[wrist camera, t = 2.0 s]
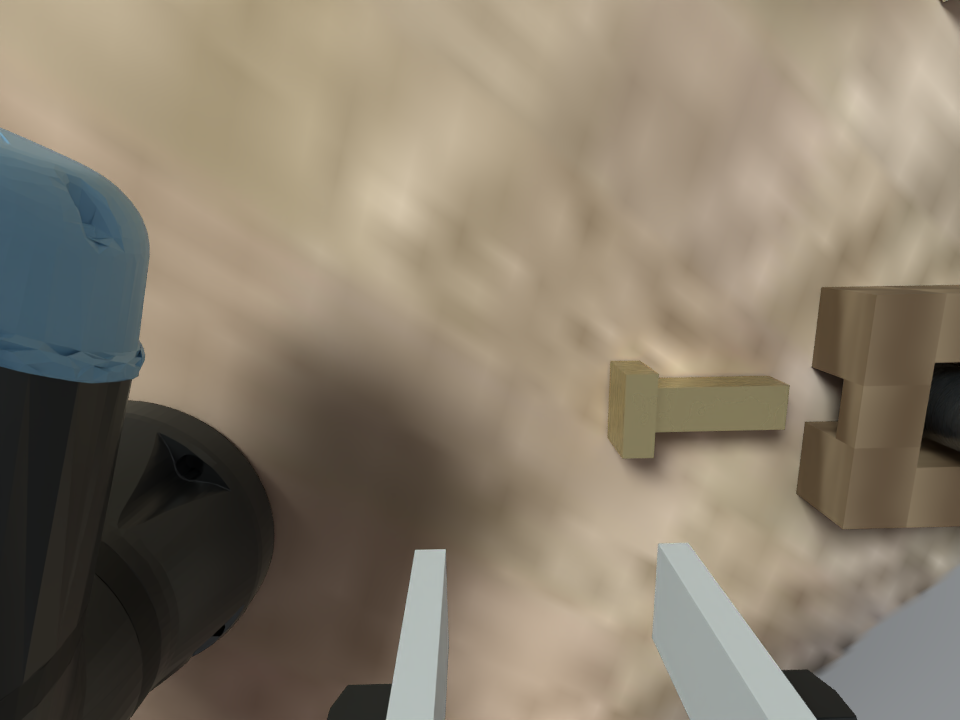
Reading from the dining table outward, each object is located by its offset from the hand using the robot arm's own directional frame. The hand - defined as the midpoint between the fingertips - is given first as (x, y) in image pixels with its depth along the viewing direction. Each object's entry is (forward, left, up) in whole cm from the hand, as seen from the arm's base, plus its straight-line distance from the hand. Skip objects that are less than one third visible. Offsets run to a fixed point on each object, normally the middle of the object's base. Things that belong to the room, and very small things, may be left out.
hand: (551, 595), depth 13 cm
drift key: (+10, 0, -17) cm, 19 cm away
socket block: (+23, 0, -17) cm, 28 cm away
